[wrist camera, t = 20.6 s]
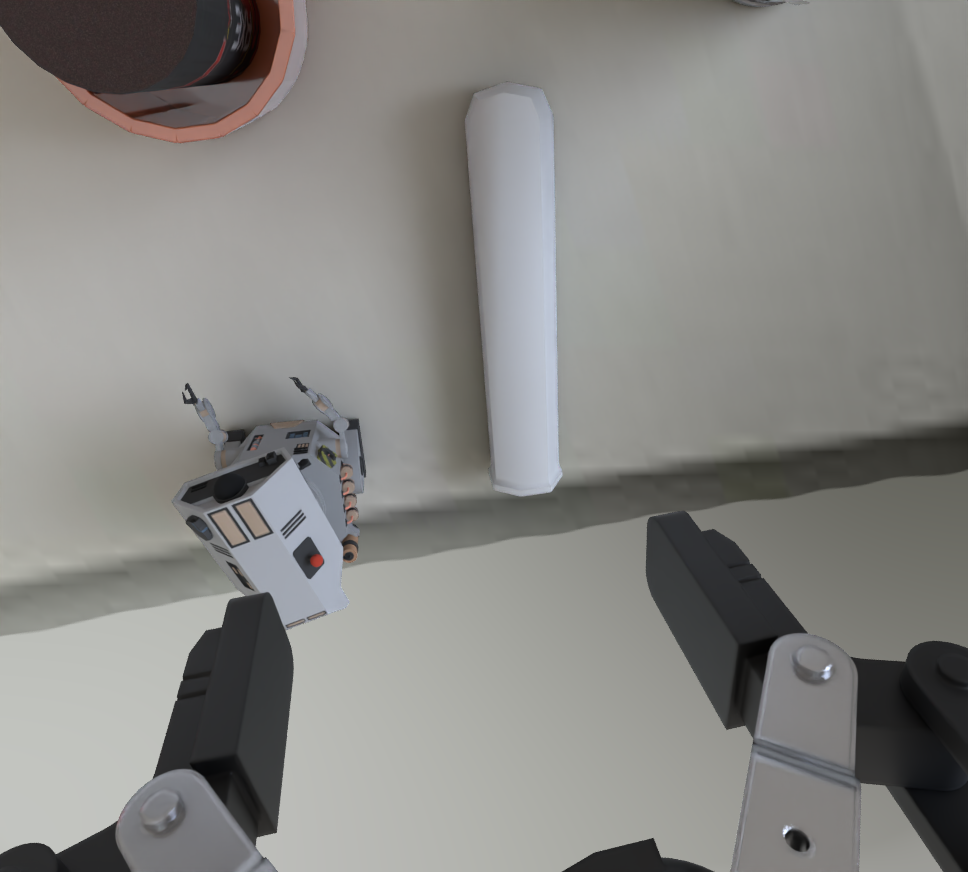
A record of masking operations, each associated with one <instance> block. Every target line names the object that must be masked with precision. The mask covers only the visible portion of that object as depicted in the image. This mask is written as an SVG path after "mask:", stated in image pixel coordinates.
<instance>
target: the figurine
mask: <svg viewBox="0 0 968 872" xmlns="http://www.w3.org/2000/svg"><path fill="white" fill-rule="evenodd" d="M290 379H293V381H294V380H295V381H296V382H297V383H296V382H295V381H294V382H295V384H296V386H297V387H298V388H299V389H300V390H301V392H304V393H305V394H306V395H307V396H309V397H310V398H311V399H312V403H313V404H314V406H315V407H316V408H317V409H318V410H319V411H320V412H321V413H323V414H326V415H327V416H328V418H329V419H330V420H331V421H333V422H334V424H333V427H334V429H335V430H336V431H337V432H339V435H340V436H339V435H337V434H336V433H335V432H333V431H332V430H331V429H329V428H328V427H327V426H325V425H324V424H322V423H321V422H320V421H318V420H312V421H304V420H298V421H288V422H277V423H270V425H261V426H256V427H255V428H254V429H253V431H252V432H251V433H250V434H249V436H248V437H247V438H246V437H245V433H244V430H237V431H224V430H220V426H219V424H218V422H217V420H216V419H215V417H216V415H215V412H214V409H213V407H212V405H211V403H210V402H209V401H208V399H206V398H203V401H201V400H200V399H199V398H196V396H195V395H194V393H193V391H192V389H191V387H190V385H189V384H188V383H187V384H186V385H185V391H186V390H187V389H188V391H189V393H190V395H191V398H190V399H188V400H187V399H186V397H185V395H184V393H183V392H182V394H183V400H184V404H193V405H194V406H195V409H196V411H197V414H198V415H199V417H200V419H201V420H202V421H203V422H204V423H205V425H206V428H207V429H208V431H209V432H210V433H209V435H208V439H209V441H210V442H211V443H213V444H215V446H216V451H215V454H214V461H215V466H216V469H217V471H215V472H212V473H210V474H207V475H204V476H202V477H199V478H196V479H194V480H191V481H188V482H185V483H184V484H183V486H182V487H181V489H180V490H179V491H178V493H177V494H176V496H175V497H174V498H173V500H172V501H171V502H172V503H173V505H174V506H175V507H176V509H177V510H178V511H179V513H180V514H181V515H182V517H183V518H184V519H185V521H186V524H187V525H188V526H189V527H190V528H191V529H192V530H193V531H194V533H195V534H196V535H197V537H198V538H199V539H200V541H201V542H202V543H203V545H204V546H205V547H206V549H207V550H208V551H209V553H210V554H211V555H212V557H213V558H214V559H215V561H216V562H217V563H218V565H219V566H220V567H221V569H222V570H223V571H224V573H225V574H226V575H227V577H228V578H229V579H230V581H231V582H232V583H233V585H234V586H235V587H236V588H237V589H238V590H239V591H240V592H242V593H243V594H244V595H245V596H249V595H254V594H259V593H264V592H269V593H270V594H271V596H272V598H273V600H274V603H275V605H276V608H277V610H278V613H279V616H280V618H281V621H282V624H283V626H284V629H285V630H288V629H290V628H293V627H295V626H298V625H301V624H304V623H306V622H309V621H312V620H314V619H317V618H320V617H322V616H325V615H328V614H330V613H333V612H336V611H339V610H341V609H344V608H346V607H347V605H348V604H349V600H348V598H347V597H346V595H345V593H344V592H343V590H342V588H341V577H342V563H343V561H345V562H348V563H351V562H353V561H355V560H356V558H357V553H358V536H359V528H358V527H357V526H356V525H354V524H353V523H352V522H353V521H356V520H357V519H358V515H359V514H358V509H357V508H356V507H354V506H355V505H356V503H357V500H356V495H355V494H359V493H363V492H364V478H365V477H366V468H365V461H364V454H363V447H362V440H361V433H360V426H359V419H353V420H347V419H346V418H344V417H340V416H339V414H338V413H337V412H336V411H335V410H334V409H333V405H332V403H331V402H330V401H329V399H328V398H327V397H325V396H324V395H323V394H321V393H319V394H318V395H317V394H315V393H314V392H313V391H312V390H311V389H310V388H309V389H307V388H306V387H305V386H303V385H302V384H301V382H300V381H299V379H298V378H296V377H293V378H290ZM223 443H224V447H223Z"/></svg>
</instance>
